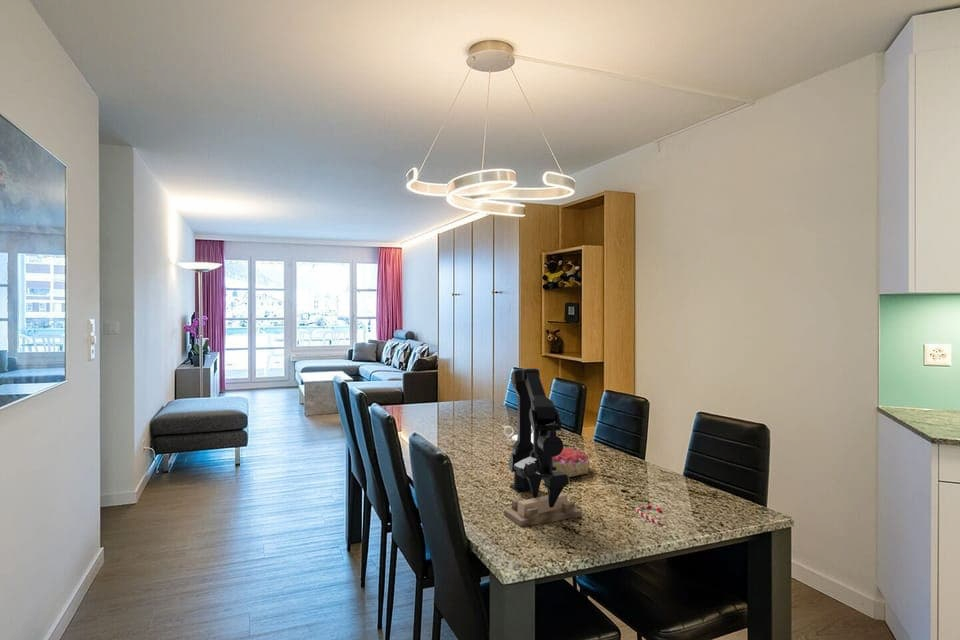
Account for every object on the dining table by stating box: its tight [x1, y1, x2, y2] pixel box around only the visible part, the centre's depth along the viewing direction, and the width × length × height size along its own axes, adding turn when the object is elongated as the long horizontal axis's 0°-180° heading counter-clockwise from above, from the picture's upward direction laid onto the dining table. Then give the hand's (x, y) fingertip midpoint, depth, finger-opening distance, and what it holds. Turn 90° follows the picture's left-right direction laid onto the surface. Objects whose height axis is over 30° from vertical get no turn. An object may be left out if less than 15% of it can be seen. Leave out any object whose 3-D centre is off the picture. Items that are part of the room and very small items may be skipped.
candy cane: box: [635, 504, 663, 527], centre depth 166 cm, size 8×1×15 cm
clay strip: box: [518, 492, 568, 517], centre depth 166 cm, size 16×3×4 cm, turn 123°
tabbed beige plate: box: [503, 498, 583, 527], centre depth 166 cm, size 20×10×4 cm, turn 114°
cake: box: [552, 447, 590, 478], centre depth 215 cm, size 25×25×8 cm
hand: (542, 502), depth 166 cm, fingers open, 9 cm apart
